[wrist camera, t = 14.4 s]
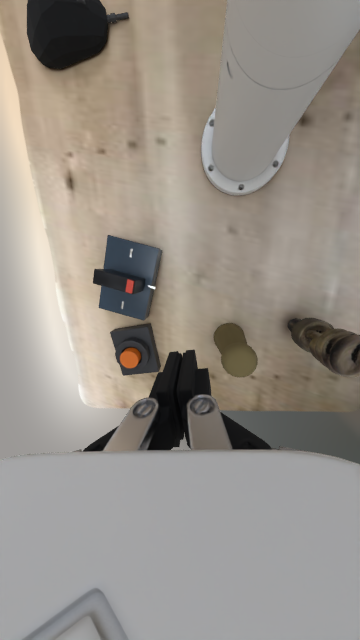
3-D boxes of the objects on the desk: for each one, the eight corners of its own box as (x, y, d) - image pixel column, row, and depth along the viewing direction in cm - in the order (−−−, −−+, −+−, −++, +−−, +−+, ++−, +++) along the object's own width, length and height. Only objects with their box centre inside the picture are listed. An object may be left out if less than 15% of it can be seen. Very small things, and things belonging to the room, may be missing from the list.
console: (111, 236, 33) (102, 233, 30) (167, 251, 32) (163, 249, 29) (102, 303, 36) (93, 306, 33) (152, 317, 36) (148, 322, 33)
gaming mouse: (133, 47, 25) (122, 7, 21) (42, 77, 27) (17, 46, 23) (123, -16, 24) (109, -72, 20) (27, 21, 26) (-3, -23, 22)
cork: (241, 352, 36) (259, 386, 26) (211, 349, 37) (217, 381, 26) (246, 324, 34) (267, 348, 24) (215, 321, 35) (222, 343, 24)
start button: (121, 348, 35) (117, 352, 33) (138, 346, 34) (135, 350, 32) (126, 364, 35) (122, 369, 34) (143, 362, 35) (140, 367, 33)
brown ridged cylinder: (314, 312, 33) (406, 346, 18) (305, 339, 34) (383, 390, 20) (282, 308, 33) (348, 338, 19) (275, 335, 34) (330, 382, 20)
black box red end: (108, 281, 32) (91, 283, 27) (110, 269, 31) (93, 268, 26) (143, 291, 32) (132, 294, 27) (145, 278, 31) (135, 280, 26)
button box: (114, 328, 38) (105, 335, 34) (150, 323, 36) (145, 329, 33) (126, 370, 40) (119, 380, 36) (160, 366, 39) (156, 376, 35)
